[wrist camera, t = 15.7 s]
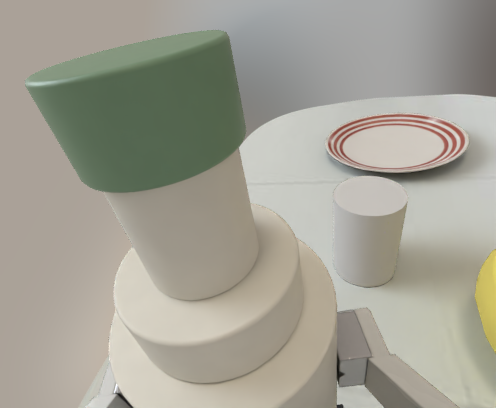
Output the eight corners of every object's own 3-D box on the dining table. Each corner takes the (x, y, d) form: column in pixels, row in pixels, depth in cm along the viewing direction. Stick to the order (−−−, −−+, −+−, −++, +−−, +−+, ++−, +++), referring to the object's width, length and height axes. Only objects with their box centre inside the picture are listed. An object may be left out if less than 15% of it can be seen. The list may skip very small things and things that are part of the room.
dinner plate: (356, 197, 54) (356, 182, 52) (310, 139, 76) (309, 127, 74) (501, 165, 54) (507, 148, 52) (413, 116, 76) (415, 103, 75)
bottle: (213, 538, 13) (-365, 195, 2) (217, 386, 17) (44, 56, 7) (354, 523, 12) (461, 31, 2) (318, 372, 17) (292, 4, 7)
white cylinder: (407, 261, 41) (422, 189, 34) (373, 298, 37) (382, 226, 30) (355, 235, 46) (359, 169, 39) (321, 265, 43) (319, 198, 36)
